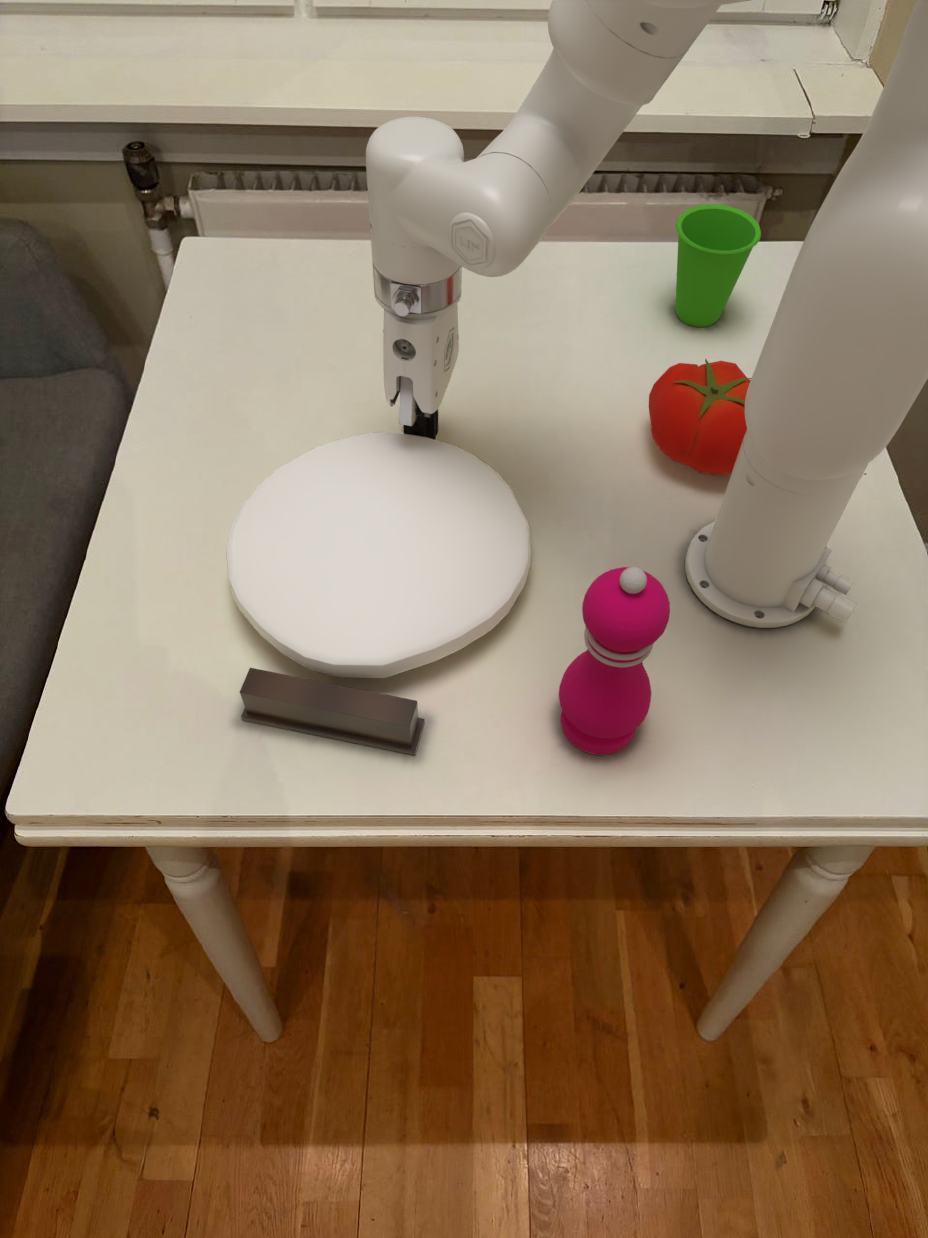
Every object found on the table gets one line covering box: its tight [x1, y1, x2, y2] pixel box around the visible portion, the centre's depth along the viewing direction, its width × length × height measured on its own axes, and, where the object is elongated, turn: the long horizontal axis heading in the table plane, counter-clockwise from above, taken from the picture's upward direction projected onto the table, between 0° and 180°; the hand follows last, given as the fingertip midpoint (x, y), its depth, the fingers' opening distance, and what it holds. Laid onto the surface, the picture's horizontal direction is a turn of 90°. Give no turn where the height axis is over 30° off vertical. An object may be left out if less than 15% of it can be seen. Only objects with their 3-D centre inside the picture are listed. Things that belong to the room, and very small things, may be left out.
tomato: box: [648, 358, 752, 476], centre depth 94 cm, size 13×12×8 cm
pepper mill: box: [558, 566, 671, 756], centre depth 70 cm, size 7×7×20 cm
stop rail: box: [239, 667, 426, 756], centre depth 77 cm, size 15×3×4 cm, turn 77°
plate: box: [225, 431, 532, 679], centre depth 85 cm, size 28×6×27 cm
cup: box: [674, 203, 762, 328], centre depth 106 cm, size 9×9×11 cm
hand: (421, 435), depth 95 cm, fingers closed
